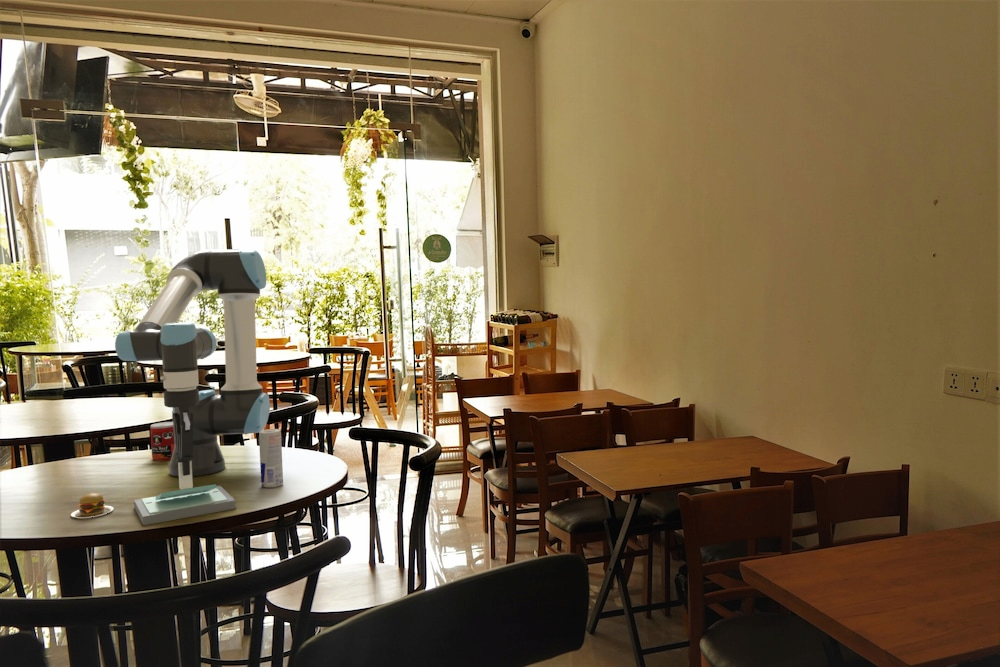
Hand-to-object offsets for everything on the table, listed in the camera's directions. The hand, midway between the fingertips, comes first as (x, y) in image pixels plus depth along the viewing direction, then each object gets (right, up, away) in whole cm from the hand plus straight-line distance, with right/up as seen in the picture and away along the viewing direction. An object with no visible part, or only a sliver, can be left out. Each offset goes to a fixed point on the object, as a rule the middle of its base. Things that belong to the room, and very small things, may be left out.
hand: (186, 487), depth 167 cm
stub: (-3, -3, +5) cm, 7 cm away
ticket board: (-2, -6, +4) cm, 7 cm away
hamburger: (-23, -7, +2) cm, 24 cm away
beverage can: (+13, -5, +23) cm, 26 cm away
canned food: (-32, -4, +58) cm, 67 cm away
